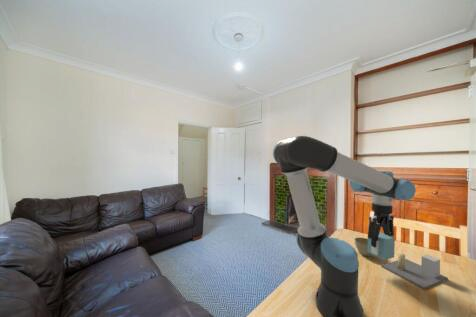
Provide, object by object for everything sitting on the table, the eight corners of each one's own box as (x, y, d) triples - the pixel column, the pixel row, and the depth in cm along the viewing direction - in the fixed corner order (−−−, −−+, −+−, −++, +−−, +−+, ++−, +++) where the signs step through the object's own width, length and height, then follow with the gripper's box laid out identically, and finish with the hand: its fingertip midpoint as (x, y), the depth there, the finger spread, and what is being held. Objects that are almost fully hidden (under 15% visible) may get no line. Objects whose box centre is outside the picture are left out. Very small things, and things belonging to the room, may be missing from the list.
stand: (423, 289, 74) (424, 269, 74) (381, 266, 89) (381, 250, 89) (447, 279, 80) (448, 260, 80) (404, 259, 95) (404, 244, 95)
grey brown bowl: (376, 261, 94) (376, 247, 94) (353, 254, 100) (353, 242, 100) (376, 253, 102) (376, 240, 101) (355, 247, 108) (355, 235, 108)
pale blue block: (383, 260, 80) (384, 240, 79) (367, 251, 86) (367, 233, 86) (394, 257, 82) (394, 237, 82) (377, 249, 89) (378, 231, 89)
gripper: (375, 207, 77) (374, 260, 77) (405, 204, 84) (403, 252, 84) (358, 203, 84) (357, 251, 84) (387, 200, 91) (385, 245, 91)
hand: (380, 252), depth 84 cm, fingers closed on pale blue block, 7 cm apart
